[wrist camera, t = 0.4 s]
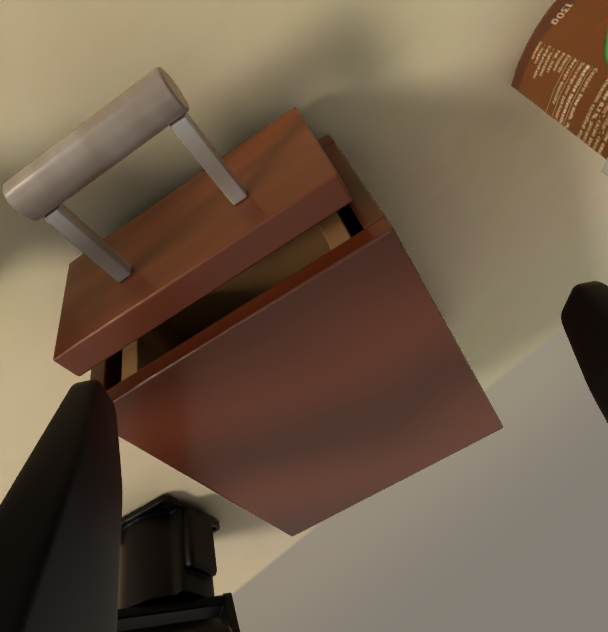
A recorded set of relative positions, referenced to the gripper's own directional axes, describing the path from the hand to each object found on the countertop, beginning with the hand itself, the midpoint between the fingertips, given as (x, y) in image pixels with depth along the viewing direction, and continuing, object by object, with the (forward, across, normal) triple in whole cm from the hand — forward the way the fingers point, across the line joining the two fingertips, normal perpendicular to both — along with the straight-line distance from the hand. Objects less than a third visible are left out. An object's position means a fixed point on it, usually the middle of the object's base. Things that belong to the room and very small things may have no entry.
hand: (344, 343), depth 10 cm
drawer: (+12, +2, +8) cm, 15 cm away
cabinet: (+13, 0, +13) cm, 18 cm away
